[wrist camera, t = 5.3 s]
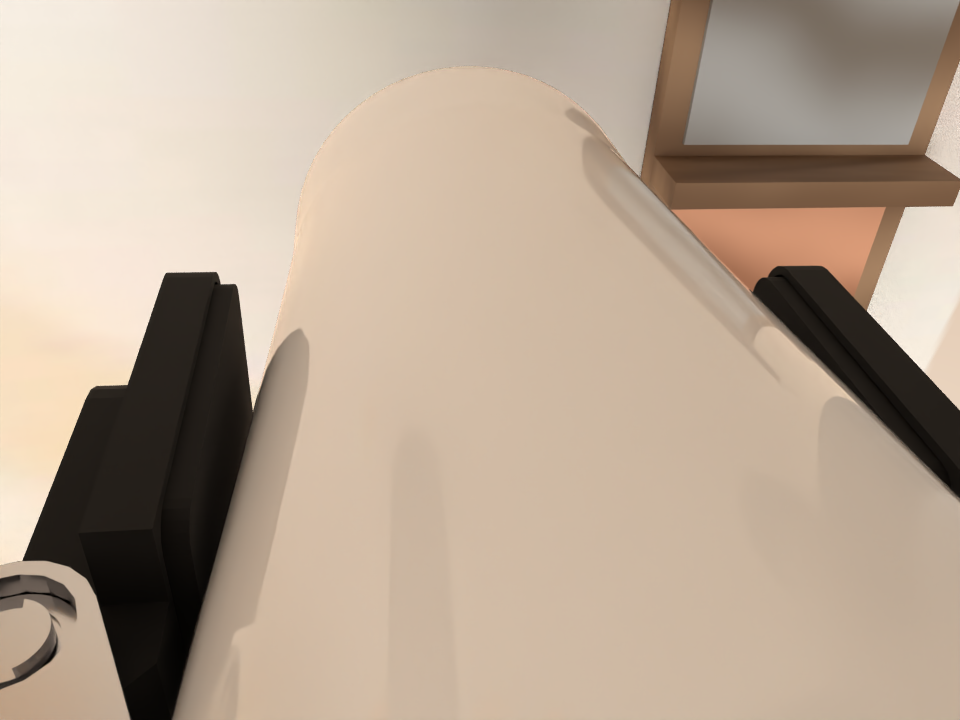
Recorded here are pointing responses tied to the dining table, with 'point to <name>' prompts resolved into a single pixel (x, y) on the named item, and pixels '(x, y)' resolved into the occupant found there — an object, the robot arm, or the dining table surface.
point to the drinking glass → (554, 458)
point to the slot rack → (801, 128)
